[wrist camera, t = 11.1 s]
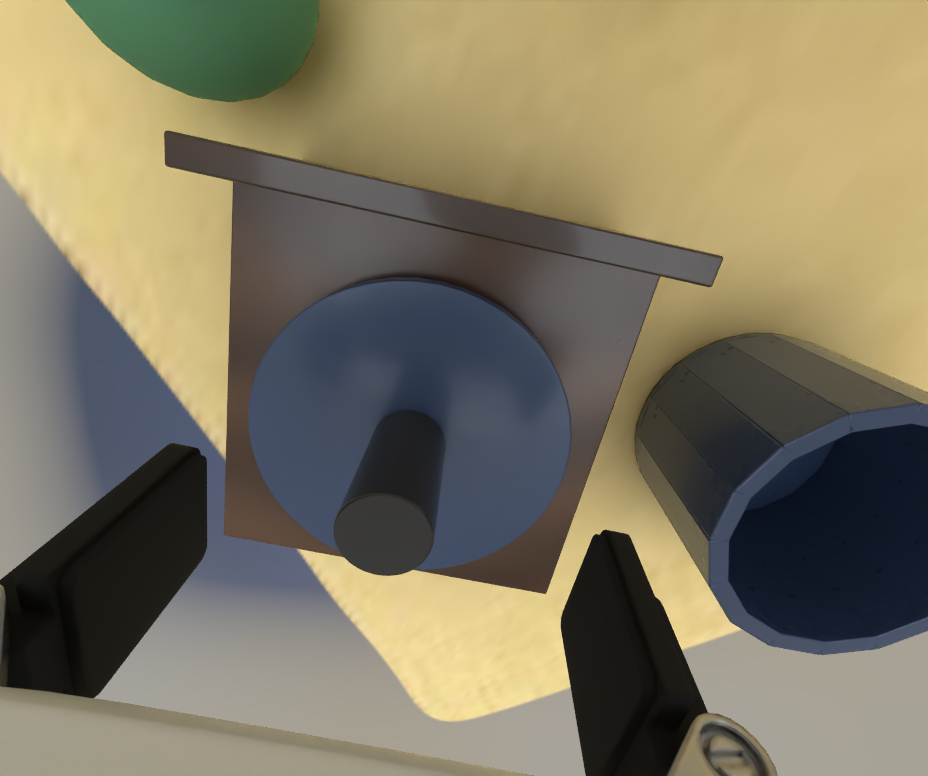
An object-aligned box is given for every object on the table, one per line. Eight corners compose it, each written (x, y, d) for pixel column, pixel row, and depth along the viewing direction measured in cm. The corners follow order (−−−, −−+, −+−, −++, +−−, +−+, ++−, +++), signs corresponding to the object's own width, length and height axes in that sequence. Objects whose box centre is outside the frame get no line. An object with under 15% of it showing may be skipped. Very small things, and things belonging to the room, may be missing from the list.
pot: (679, 312, 22) (791, 375, 14) (888, 357, 23) (1108, 443, 15) (607, 496, 26) (665, 627, 18) (787, 532, 26) (920, 674, 19)
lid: (270, 240, 16) (148, 265, 10) (606, 313, 16) (679, 377, 10) (255, 521, 20) (163, 655, 14) (522, 571, 20) (540, 719, 15)
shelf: (300, 159, 20) (163, 129, 11) (619, 232, 21) (725, 256, 12) (278, 462, 26) (174, 601, 17) (531, 510, 26) (559, 668, 17)
